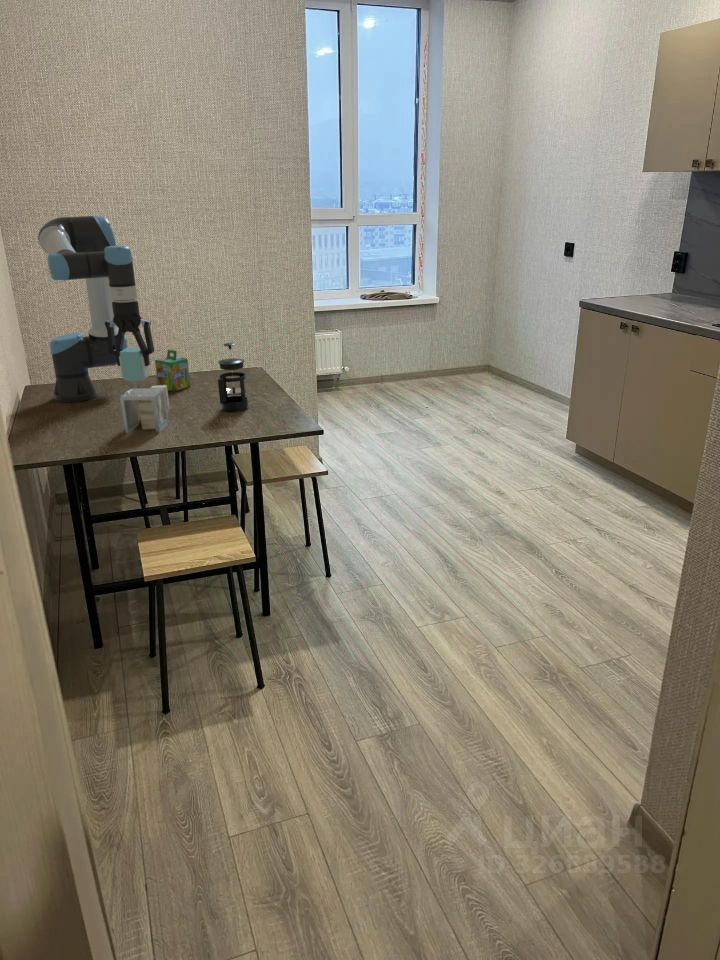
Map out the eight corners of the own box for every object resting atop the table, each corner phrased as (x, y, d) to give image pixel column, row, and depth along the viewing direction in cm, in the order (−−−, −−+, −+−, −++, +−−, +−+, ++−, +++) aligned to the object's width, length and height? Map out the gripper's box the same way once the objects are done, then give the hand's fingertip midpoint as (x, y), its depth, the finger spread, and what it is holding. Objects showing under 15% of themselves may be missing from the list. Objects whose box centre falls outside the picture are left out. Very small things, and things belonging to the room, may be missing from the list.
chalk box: (157, 389, 275) (152, 351, 269) (174, 384, 282) (170, 347, 276) (174, 392, 270) (169, 354, 264) (191, 386, 277) (187, 349, 272)
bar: (157, 429, 228) (154, 402, 225) (142, 429, 228) (138, 403, 224) (169, 409, 248) (166, 385, 245) (155, 410, 248) (152, 385, 245)
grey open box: (159, 433, 224) (154, 396, 219) (125, 433, 224) (119, 396, 220) (168, 423, 233) (164, 388, 228) (136, 423, 233) (130, 388, 229)
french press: (236, 402, 255) (230, 339, 246) (255, 406, 250) (250, 342, 241) (212, 410, 246) (206, 345, 237) (232, 414, 241) (226, 348, 232)
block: (123, 380, 217) (119, 351, 213) (130, 375, 222) (126, 347, 219) (142, 380, 217) (138, 351, 213) (149, 375, 222) (145, 347, 219)
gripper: (88, 302, 206) (100, 379, 215) (151, 302, 205) (161, 379, 214) (98, 298, 213) (110, 373, 222) (159, 298, 212) (168, 373, 221)
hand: (135, 376), depth 218 cm, fingers closed on block, 6 cm apart
